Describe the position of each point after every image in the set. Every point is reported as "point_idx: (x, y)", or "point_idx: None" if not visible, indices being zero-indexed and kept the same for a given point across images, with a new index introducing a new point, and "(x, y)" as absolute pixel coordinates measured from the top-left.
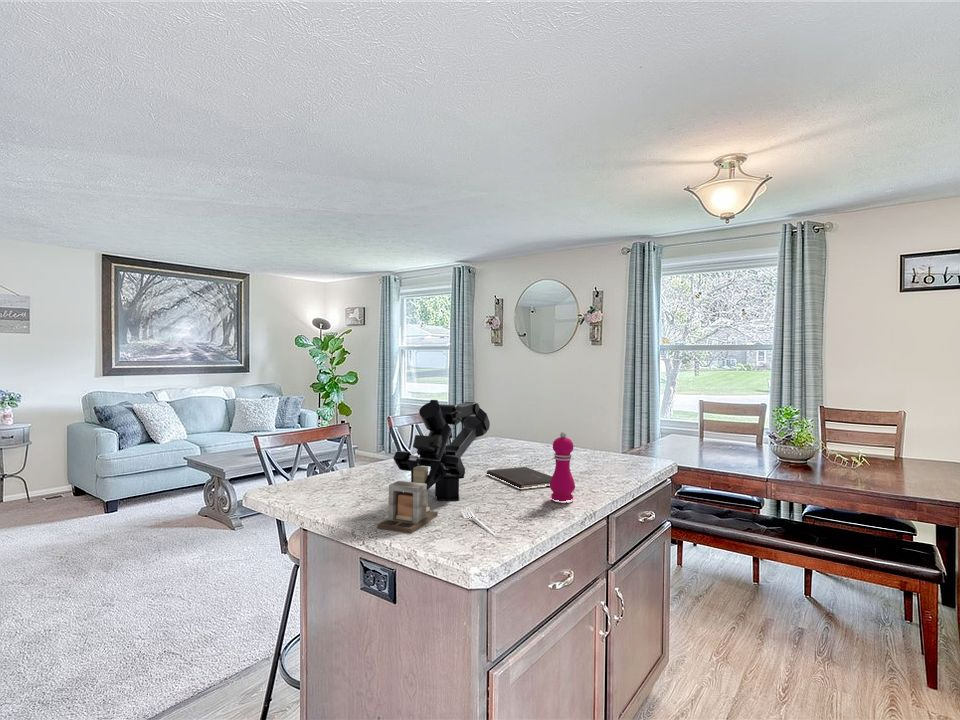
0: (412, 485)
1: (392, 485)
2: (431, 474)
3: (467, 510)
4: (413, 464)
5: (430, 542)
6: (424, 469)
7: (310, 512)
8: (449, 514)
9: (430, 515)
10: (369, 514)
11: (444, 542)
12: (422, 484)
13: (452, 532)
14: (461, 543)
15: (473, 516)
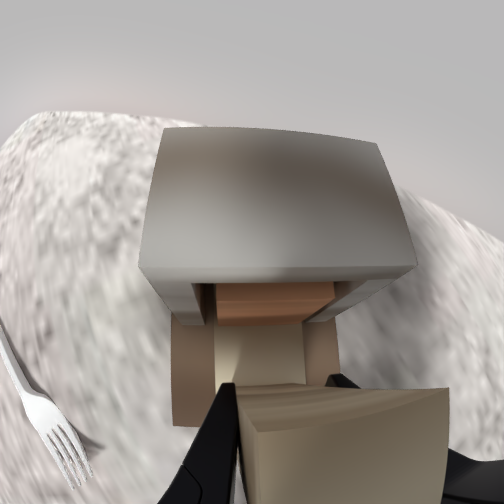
0: (233, 169)
1: (355, 140)
2: (183, 502)
3: (71, 471)
4: (492, 482)
5: (108, 160)
6: (256, 453)
7: (500, 252)
8: (139, 455)
9: (177, 362)
10: (422, 309)
11: (75, 174)
12: (166, 226)
13: (62, 250)
14: (39, 187)
15: (48, 441)
